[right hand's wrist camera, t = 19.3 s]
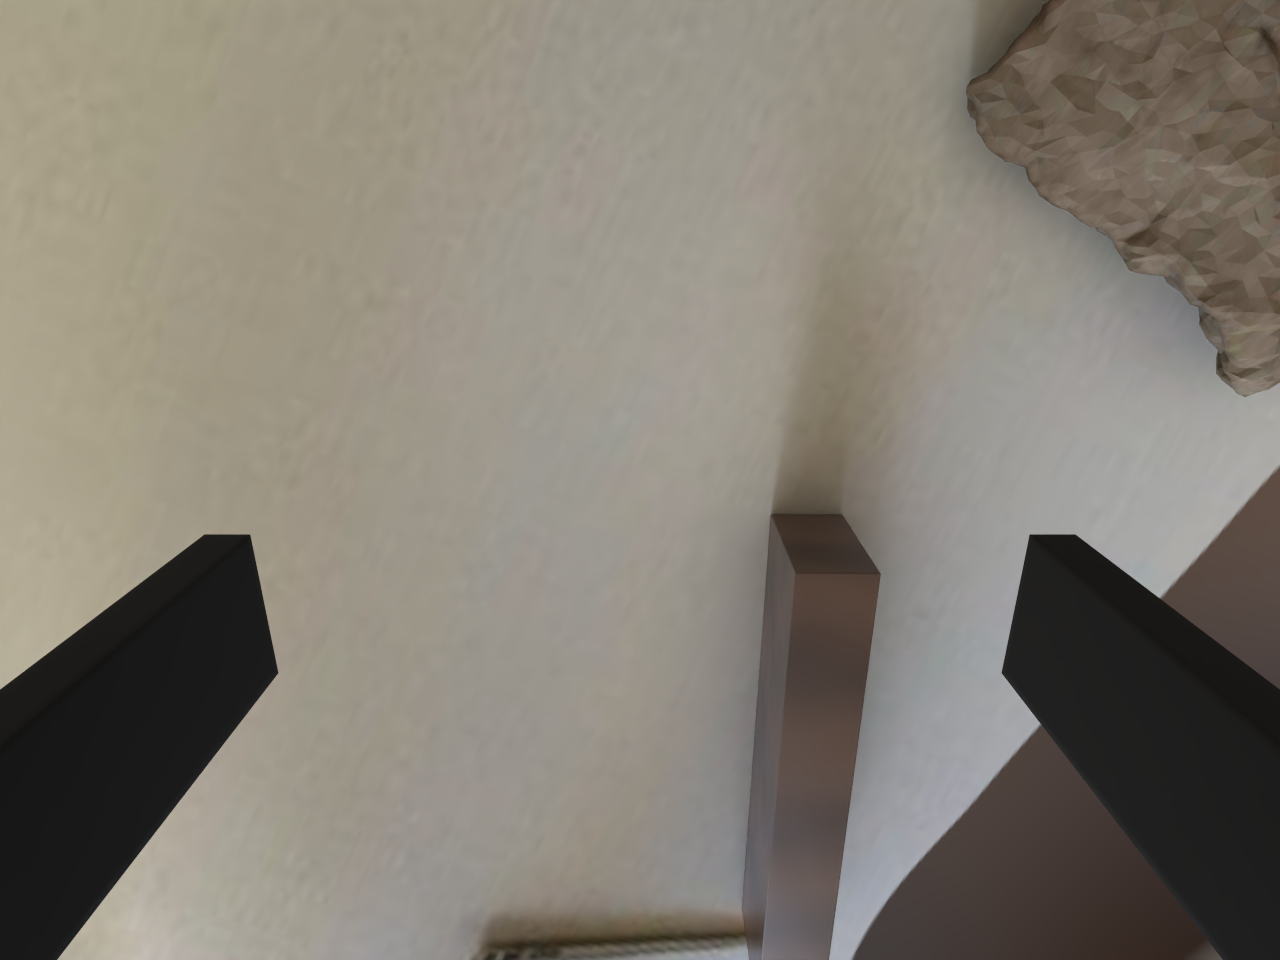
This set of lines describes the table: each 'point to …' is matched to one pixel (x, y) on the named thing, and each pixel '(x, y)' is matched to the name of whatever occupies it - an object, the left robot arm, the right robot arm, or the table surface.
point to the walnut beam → (806, 732)
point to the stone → (1159, 149)
